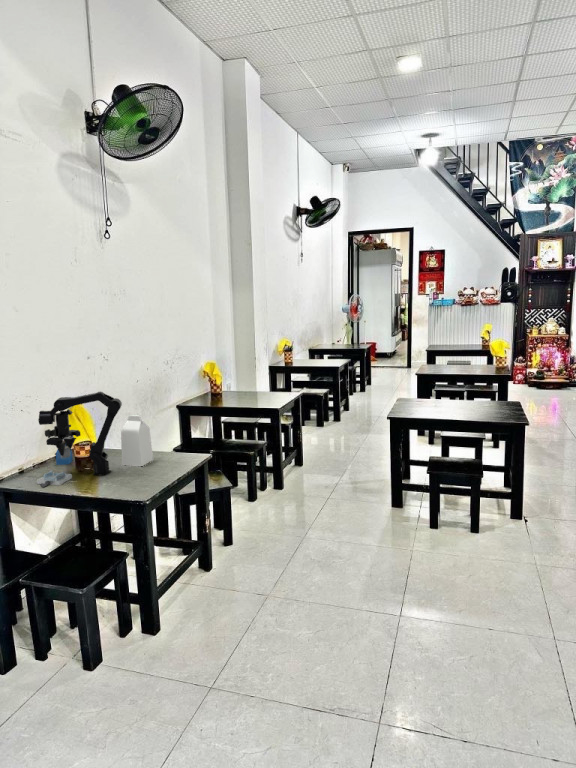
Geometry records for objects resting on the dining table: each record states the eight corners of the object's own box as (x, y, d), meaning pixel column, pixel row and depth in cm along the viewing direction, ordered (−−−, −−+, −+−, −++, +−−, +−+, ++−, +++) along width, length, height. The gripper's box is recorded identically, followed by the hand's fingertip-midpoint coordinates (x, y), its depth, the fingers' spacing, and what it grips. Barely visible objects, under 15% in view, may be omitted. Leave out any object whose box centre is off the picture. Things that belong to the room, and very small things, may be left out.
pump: (72, 455, 265) (71, 445, 264) (66, 458, 261) (65, 448, 260) (64, 455, 266) (63, 445, 265) (58, 457, 262) (57, 447, 261)
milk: (121, 465, 280) (118, 417, 275) (134, 459, 290) (130, 412, 286) (141, 467, 276) (138, 418, 272) (153, 460, 287) (150, 413, 283)
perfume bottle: (56, 464, 283) (54, 443, 281) (61, 461, 289) (59, 439, 287) (68, 464, 284) (66, 442, 281) (72, 460, 290) (70, 439, 288)
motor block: (72, 478, 262) (71, 470, 261) (53, 488, 249) (52, 480, 248) (50, 476, 265) (49, 469, 264) (31, 486, 251) (30, 478, 251)
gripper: (60, 418, 271) (63, 447, 274) (35, 427, 254) (38, 458, 256) (79, 419, 269) (82, 449, 271) (55, 428, 251) (58, 460, 253)
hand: (65, 454), depth 263 cm, fingers closed on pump, 4 cm apart
